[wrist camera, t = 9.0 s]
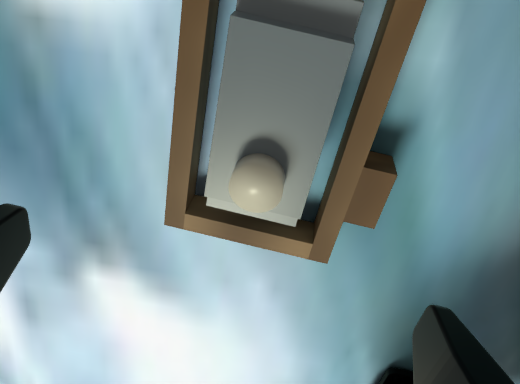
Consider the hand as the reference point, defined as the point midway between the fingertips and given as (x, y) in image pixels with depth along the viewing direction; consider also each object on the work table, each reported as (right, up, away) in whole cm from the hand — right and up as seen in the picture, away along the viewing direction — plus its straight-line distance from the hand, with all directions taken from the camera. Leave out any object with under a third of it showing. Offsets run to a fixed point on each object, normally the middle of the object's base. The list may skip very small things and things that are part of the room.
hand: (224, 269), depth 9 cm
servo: (+2, +6, +10) cm, 12 cm away
